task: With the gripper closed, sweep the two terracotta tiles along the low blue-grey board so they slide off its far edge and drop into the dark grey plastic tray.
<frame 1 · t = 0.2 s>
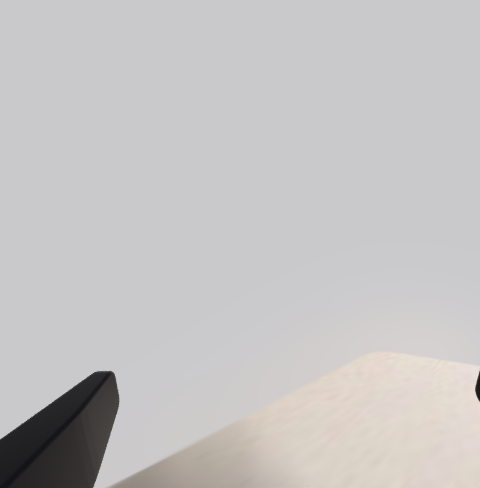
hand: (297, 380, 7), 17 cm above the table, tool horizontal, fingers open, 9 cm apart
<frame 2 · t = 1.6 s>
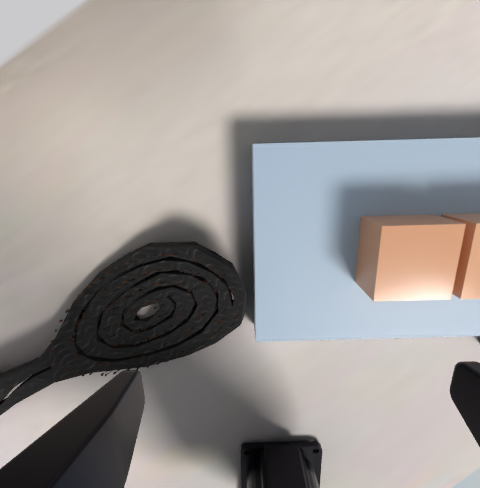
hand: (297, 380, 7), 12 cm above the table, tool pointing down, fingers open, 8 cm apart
tile a: (392, 249, 17), point 2 cm above the table, touching board
black spiral-grooved part: (92, 335, 21), on the table
tile b: (469, 247, 17), point 2 cm above the table, touching board
board: (376, 239, 19), on the table
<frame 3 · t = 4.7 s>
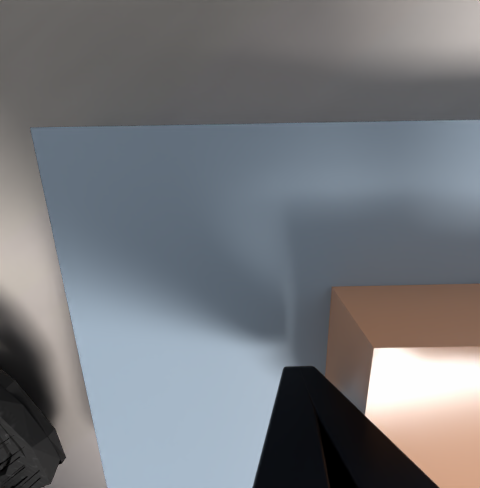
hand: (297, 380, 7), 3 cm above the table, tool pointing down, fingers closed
tile a: (398, 350, 8), point 2 cm above the table, touching gripper, tile b
board: (340, 314, 10), on the table
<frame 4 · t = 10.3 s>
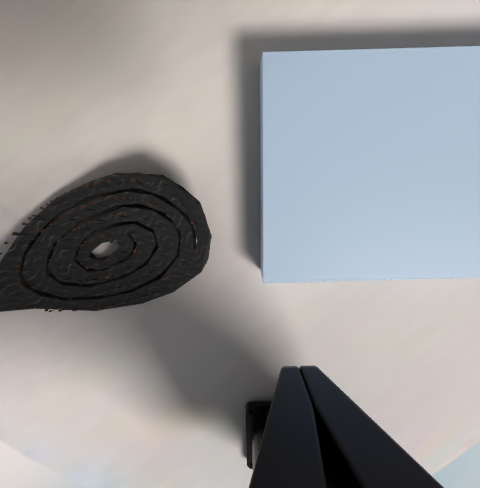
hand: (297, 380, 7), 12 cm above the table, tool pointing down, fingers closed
black spiral-grooved part: (42, 271, 20), on the table
board: (393, 174, 17), on the table
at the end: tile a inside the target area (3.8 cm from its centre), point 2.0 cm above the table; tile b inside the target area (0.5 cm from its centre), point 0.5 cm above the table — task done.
